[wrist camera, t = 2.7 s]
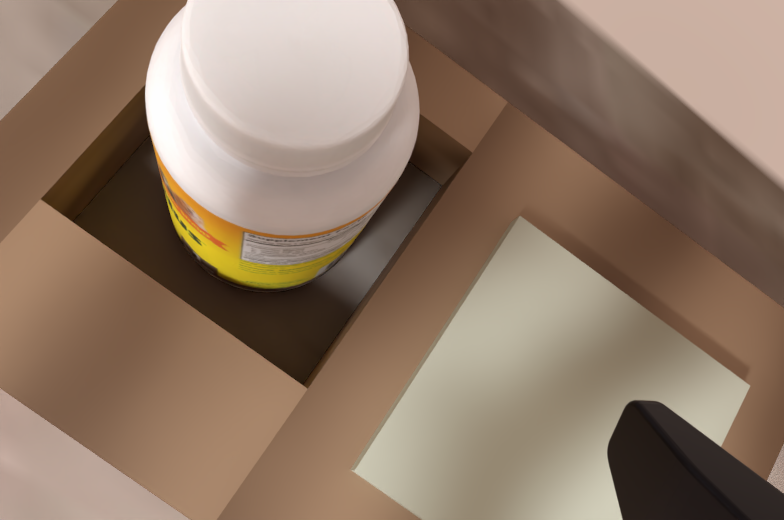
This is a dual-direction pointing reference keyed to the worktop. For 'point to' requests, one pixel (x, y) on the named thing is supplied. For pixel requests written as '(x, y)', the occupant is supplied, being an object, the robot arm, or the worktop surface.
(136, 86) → the puzzle board
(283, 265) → the supplement bottle
